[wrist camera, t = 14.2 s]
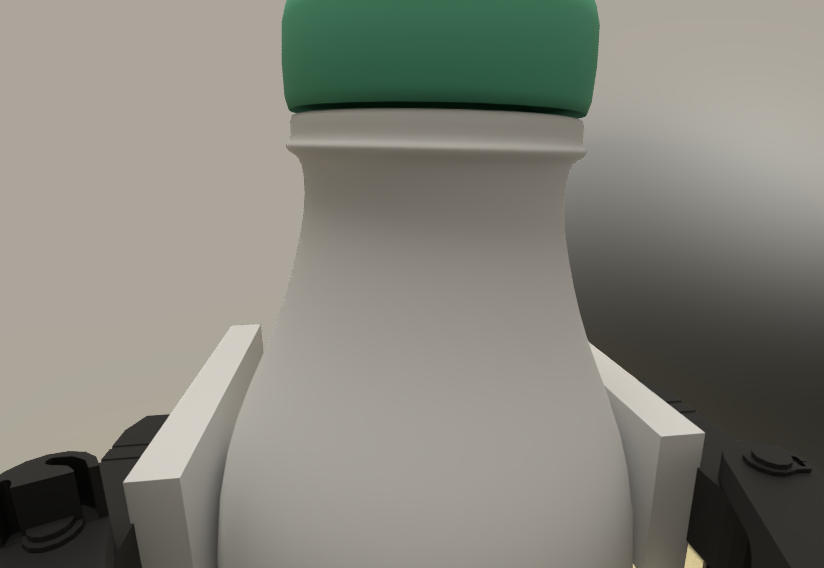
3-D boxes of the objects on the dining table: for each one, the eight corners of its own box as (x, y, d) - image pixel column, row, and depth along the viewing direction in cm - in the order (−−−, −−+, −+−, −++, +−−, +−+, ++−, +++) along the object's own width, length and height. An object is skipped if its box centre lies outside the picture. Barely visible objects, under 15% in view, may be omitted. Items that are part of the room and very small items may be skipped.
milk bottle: (602, 818, 14) (748, 30, 8) (484, 1378, 7) (765, -349, 2) (380, 661, 18) (383, 63, 12) (183, 938, 11) (18, -32, 6)
